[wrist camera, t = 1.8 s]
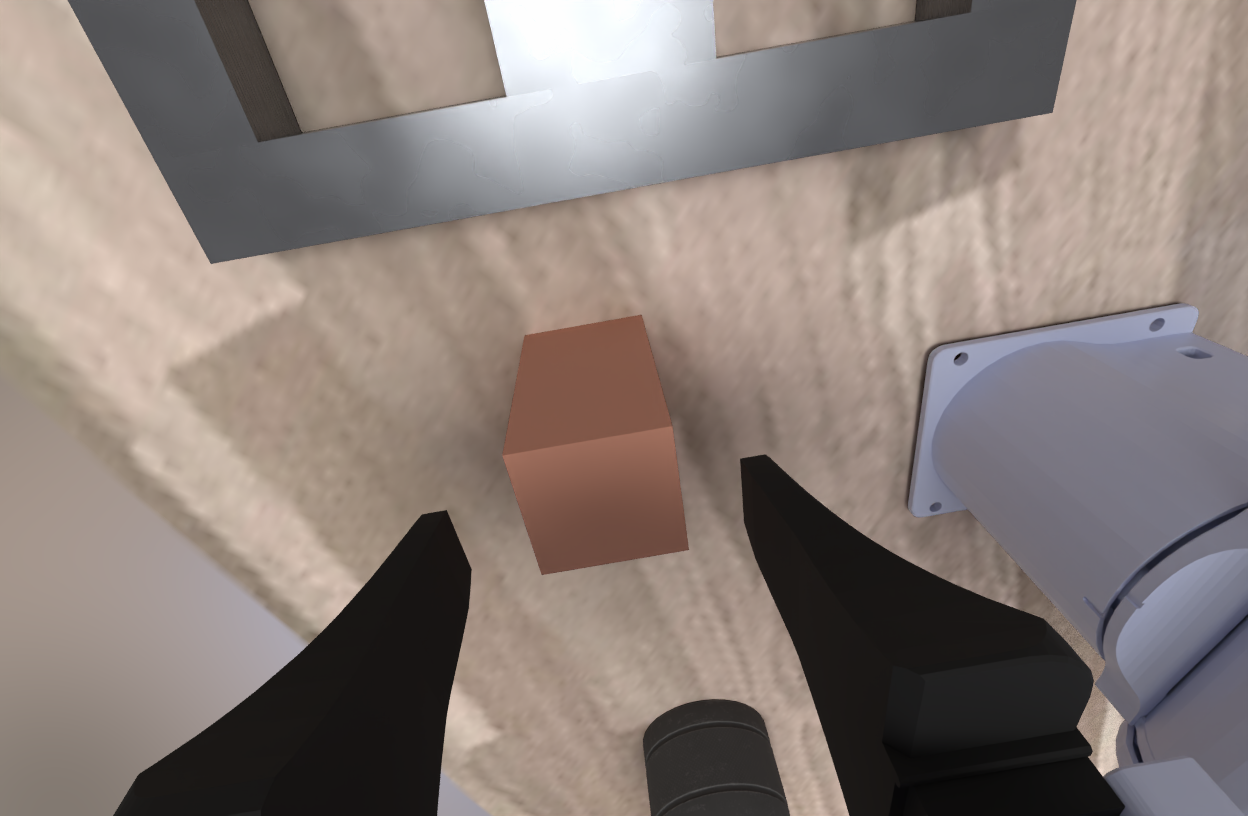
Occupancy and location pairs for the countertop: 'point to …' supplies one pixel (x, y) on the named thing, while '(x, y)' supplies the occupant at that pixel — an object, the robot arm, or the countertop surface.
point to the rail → (549, 109)
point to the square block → (593, 448)
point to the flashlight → (712, 763)
